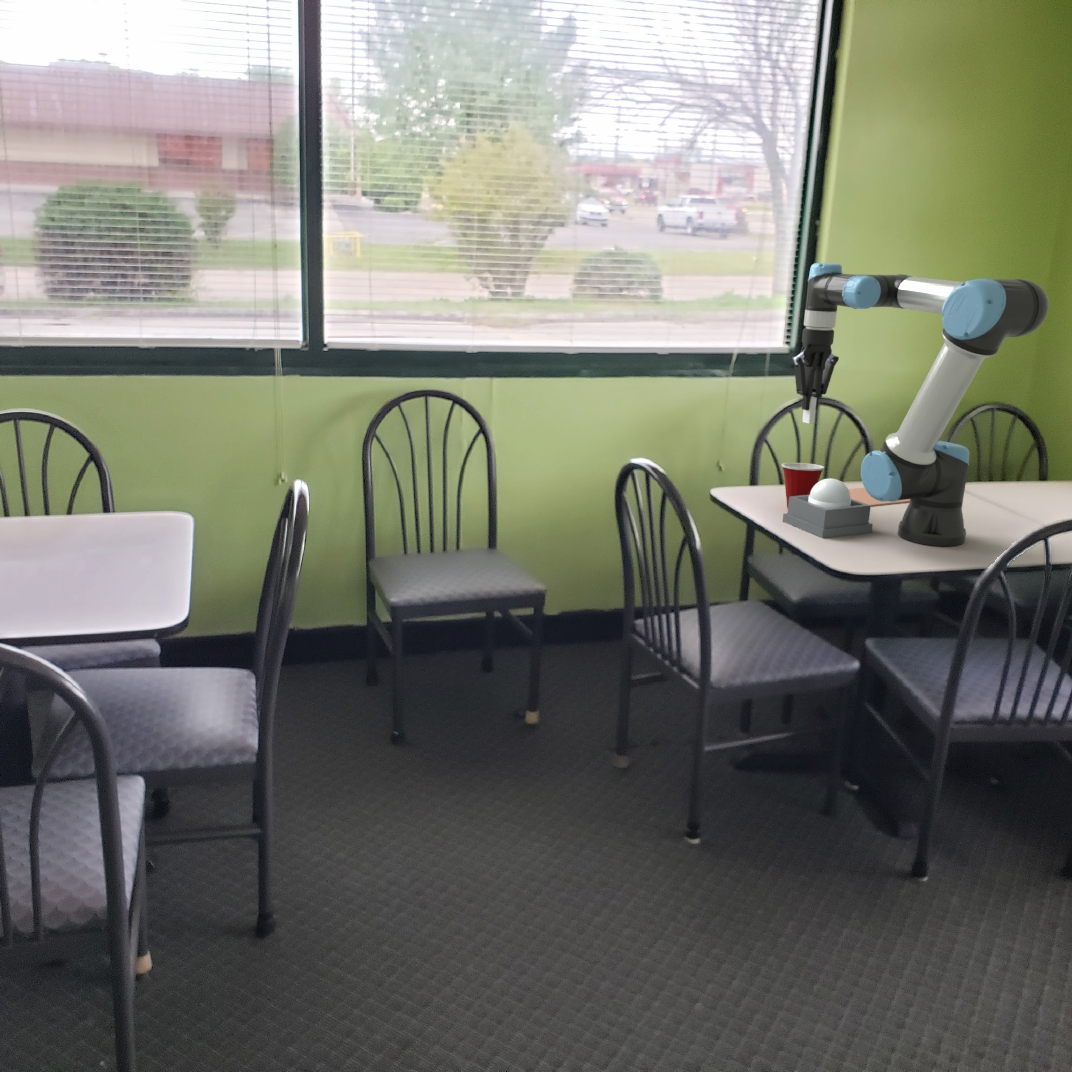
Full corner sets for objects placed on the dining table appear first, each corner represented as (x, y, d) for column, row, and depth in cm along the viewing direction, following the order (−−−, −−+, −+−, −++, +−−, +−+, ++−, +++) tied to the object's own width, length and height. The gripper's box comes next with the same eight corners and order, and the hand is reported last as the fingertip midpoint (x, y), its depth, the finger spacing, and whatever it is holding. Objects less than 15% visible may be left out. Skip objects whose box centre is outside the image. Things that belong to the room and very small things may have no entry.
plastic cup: (816, 504, 271) (821, 460, 268) (823, 515, 261) (828, 469, 257) (774, 502, 272) (778, 458, 269) (779, 513, 262) (784, 467, 258)
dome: (857, 520, 248) (862, 482, 245) (824, 524, 244) (829, 485, 241) (830, 510, 256) (834, 472, 254) (798, 513, 252) (802, 475, 250)
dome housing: (871, 531, 247) (874, 506, 245) (822, 537, 241) (825, 511, 239) (830, 516, 260) (833, 491, 258) (782, 521, 254) (785, 496, 252)
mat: (915, 501, 277) (915, 500, 277) (869, 506, 271) (869, 505, 271) (874, 487, 291) (874, 486, 291) (829, 492, 285) (829, 490, 285)
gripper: (830, 326, 258) (819, 418, 265) (787, 326, 253) (777, 420, 260) (850, 329, 251) (838, 424, 258) (807, 330, 246) (796, 426, 253)
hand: (807, 422), depth 259 cm, fingers closed
